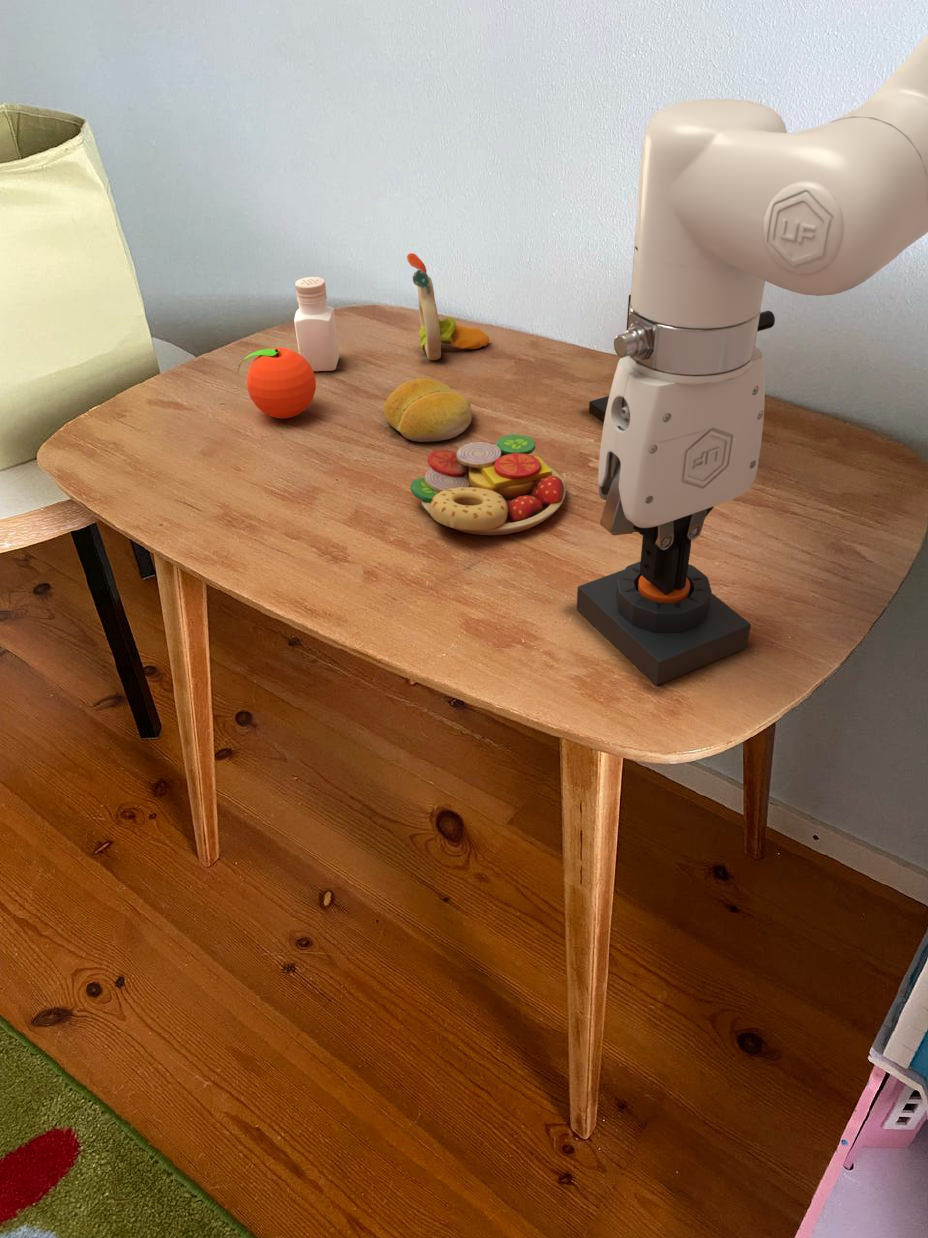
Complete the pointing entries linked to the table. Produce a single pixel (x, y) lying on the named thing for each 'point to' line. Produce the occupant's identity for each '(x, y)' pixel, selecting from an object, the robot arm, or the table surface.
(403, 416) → the bread roll
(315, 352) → the salt shaker
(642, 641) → the control block
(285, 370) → the clementine
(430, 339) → the rattle
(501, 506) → the toy food set
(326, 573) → the table surface
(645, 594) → the button
